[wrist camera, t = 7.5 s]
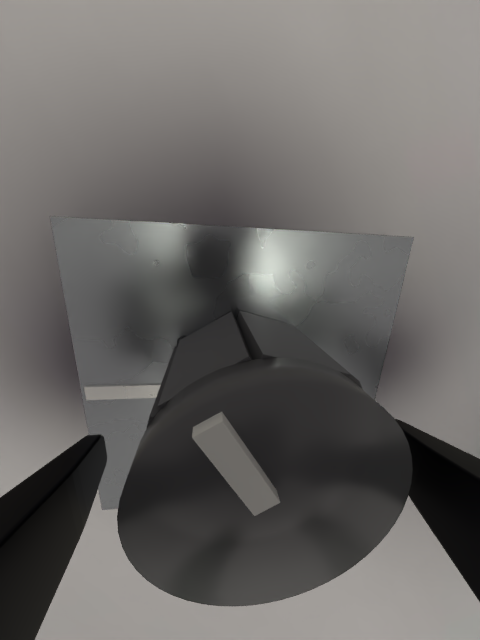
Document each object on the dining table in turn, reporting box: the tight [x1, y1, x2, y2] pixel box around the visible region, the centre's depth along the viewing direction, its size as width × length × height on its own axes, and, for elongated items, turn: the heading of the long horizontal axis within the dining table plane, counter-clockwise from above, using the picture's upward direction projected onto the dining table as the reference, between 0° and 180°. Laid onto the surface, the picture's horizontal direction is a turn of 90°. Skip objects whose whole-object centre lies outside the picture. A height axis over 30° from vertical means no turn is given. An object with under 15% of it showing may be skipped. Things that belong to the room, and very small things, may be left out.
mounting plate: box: [50, 216, 414, 510], centre depth 8 cm, size 13×13×5 cm
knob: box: [117, 311, 413, 606], centre depth 7 cm, size 7×7×5 cm
